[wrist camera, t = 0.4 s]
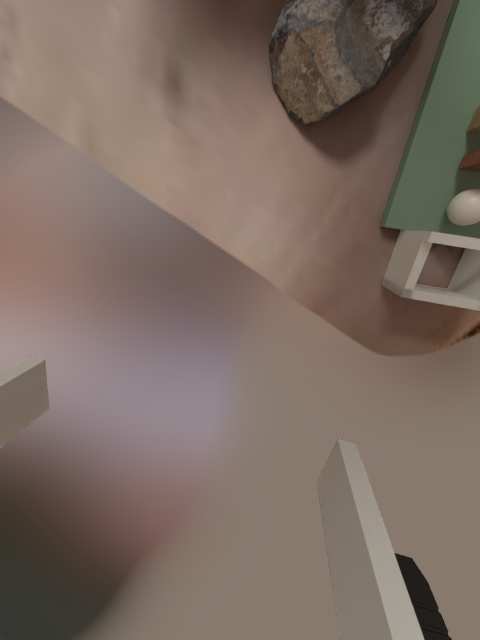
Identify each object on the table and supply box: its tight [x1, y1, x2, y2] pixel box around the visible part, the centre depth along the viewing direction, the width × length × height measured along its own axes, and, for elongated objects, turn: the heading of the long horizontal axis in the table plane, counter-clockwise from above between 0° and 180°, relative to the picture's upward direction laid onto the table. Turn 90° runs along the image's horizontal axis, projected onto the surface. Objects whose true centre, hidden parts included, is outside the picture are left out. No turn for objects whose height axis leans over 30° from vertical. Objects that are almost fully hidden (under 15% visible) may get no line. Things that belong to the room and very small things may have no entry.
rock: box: [269, 0, 437, 125], centre depth 25 cm, size 14×11×5 cm
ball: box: [447, 189, 480, 226], centre depth 27 cm, size 4×4×4 cm
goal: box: [381, 230, 480, 311], centre depth 30 cm, size 7×9×7 cm
